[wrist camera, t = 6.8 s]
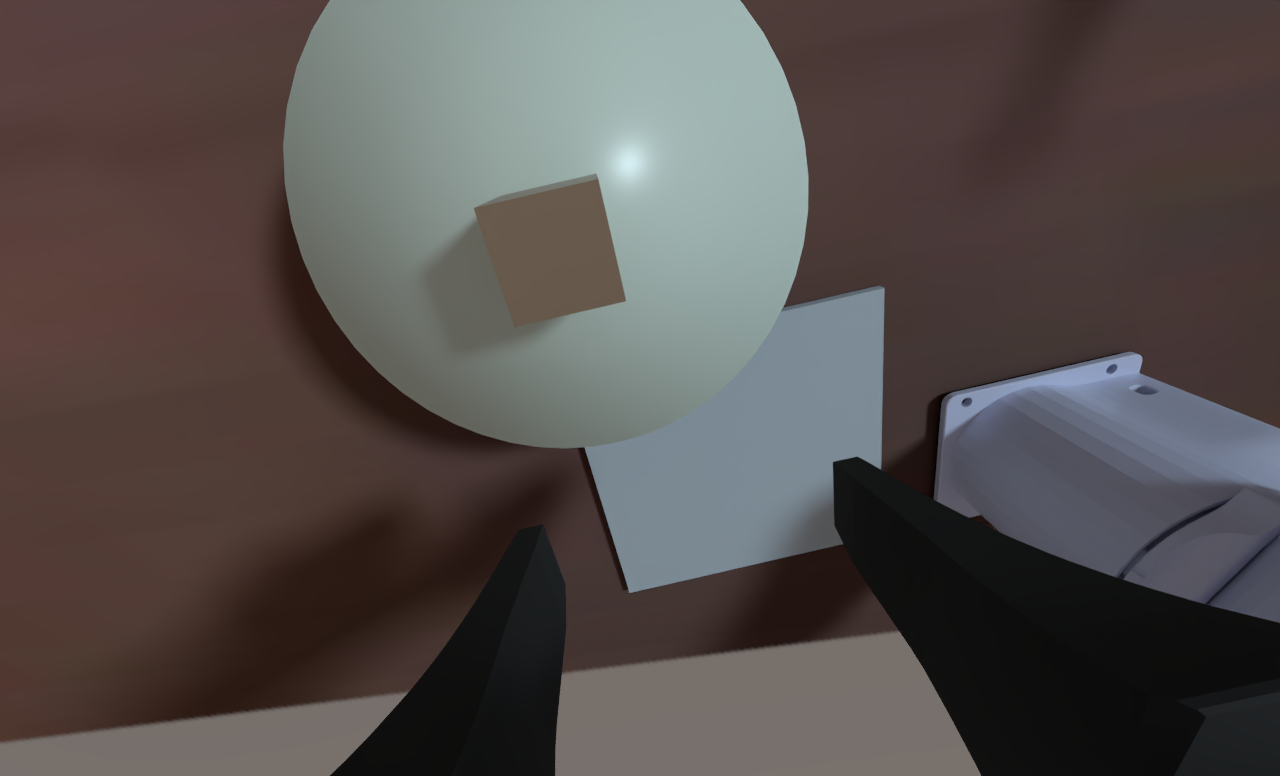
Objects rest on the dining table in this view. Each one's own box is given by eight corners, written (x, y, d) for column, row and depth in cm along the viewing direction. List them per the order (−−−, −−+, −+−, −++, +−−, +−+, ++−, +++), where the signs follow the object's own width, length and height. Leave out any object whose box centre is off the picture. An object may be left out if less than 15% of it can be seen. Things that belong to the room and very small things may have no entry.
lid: (777, -153, 11) (875, -312, 7) (809, 386, 17) (871, 450, 13) (182, -11, 11) (-26, -96, 7) (426, 474, 17) (380, 563, 14)
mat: (879, 285, 21) (884, 288, 20) (875, 530, 27) (879, 535, 26) (558, 359, 21) (558, 363, 20) (628, 586, 27) (629, 592, 26)
